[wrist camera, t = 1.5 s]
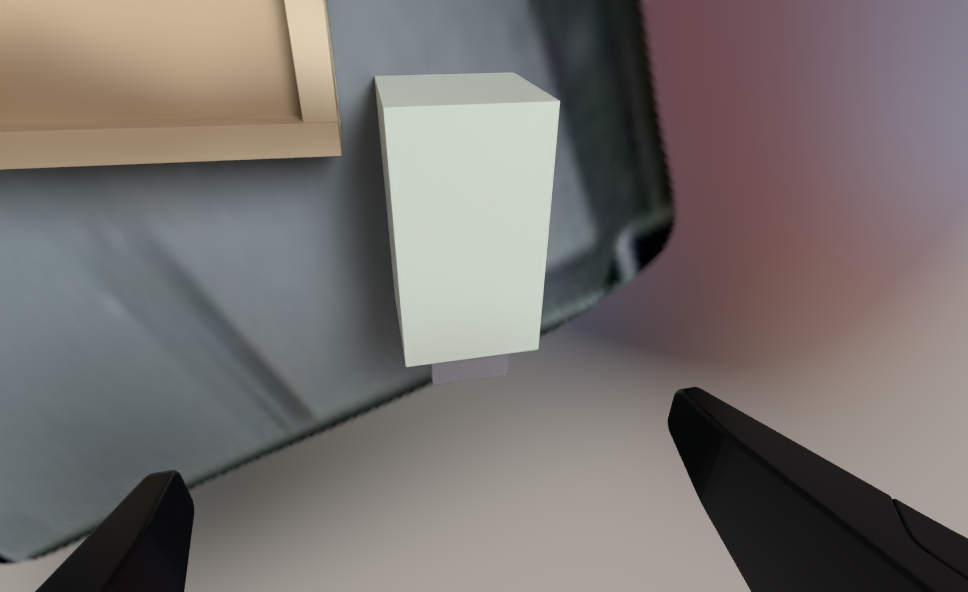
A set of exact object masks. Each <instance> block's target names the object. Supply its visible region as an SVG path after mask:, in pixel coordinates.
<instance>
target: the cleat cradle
mask: <svg viewBox="0 0 968 592" xmlns="http://www.w3.org/2000/svg"><path fill="white" fill-rule="evenodd" d="M324 156H342V127H341V119H340V110H339V101H338V93H337V84H336V76H335V67H334V59H333V50H332V42H331V33H330V24H329V16H328V7H327V0H0V169H24V168H49V167H74V166H99V165H124V164H149V163H174V162H199V161H224V160H249V159H274V158H299V157H324Z"/></svg>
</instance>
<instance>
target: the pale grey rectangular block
mask: <svg viewBox="0 0 968 592" xmlns="http://www.w3.org/2000/svg"><path fill="white" fill-rule="evenodd" d="M374 77H375V88H376V99H377V110H378V121H379V131H380V142H381V153H382V164H383V174H384V185H385V196H386V207H387V218H388V228H389V239H390V250H391V261H392V272H393V282H394V293H395V301H396V307H397V314H398V320H399V327H400V333H401V340H402V346H403V352H404V359H405V365H406V367H411V366H419V365H426V364H429V369H430V374H431V378H432V383H433V385H440V384H447V383H454V382H461V381H468V380H475V379H482V378H489V377H495V376H503V375H508V360H509V353H515V352H523V351H530V350H538V346H539V335H540V323H541V312H542V300H543V289H544V278H545V266H546V255H547V244H548V232H549V221H550V209H551V198H552V187H553V175H554V164H555V152H556V141H557V130H558V118H559V107H560V101H559V100H557V99H556V98H554V97H553V96H551V95H549V94H548V93H546V92H544V91H543V90H541V89H540V88H538V87H536V86H535V85H533V84H532V83H530V82H528V81H527V80H525V79H523V78H522V77H520V76H519V75H517V74H515V73H481V74H440V75H398V76H374Z"/></svg>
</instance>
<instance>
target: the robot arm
mask: <svg viewBox="0 0 968 592" xmlns="http://www.w3.org/2000/svg"><path fill="white" fill-rule="evenodd" d="M668 427H669V431H670V434H671V436H672V438H673V441H674V443H675V445H676V447H677V450H678V452H679V454H680V456H681V459H682V461H683V463H684V466H685V468H686V470H687V472H688V475H689V477H690V479H691V482H692V484H693V486H694V488H695V490H696V493H697V495H698V497H699V499H700V501H701V503H702V505H703V507H704V509H705V510H706V512H707V514H708V516H709V518H710V519H711V521H712V523H713V525H714V526H715V528H716V530H717V532H718V534H719V535H720V537H721V539H722V541H723V542H724V544H725V546H726V548H727V550H728V551H729V553H730V555H731V557H732V558H733V560H734V562H735V563H736V566H737V567H738V569H739V571H740V573H741V574H742V576H743V578H744V580H745V581H746V583H747V585H748V587H749V588H750V590H751V592H968V538H966V537H964V536H962V535H960V534H958V533H956V532H954V531H952V530H951V529H949V528H947V527H945V526H943V525H942V524H940V523H938V522H936V521H934V520H932V519H930V518H929V517H927V516H925V515H923V514H921V513H920V512H918V511H916V510H914V509H913V508H911V507H909V506H907V505H906V504H904V503H902V502H900V501H898V500H897V499H892V498H891V497H890V496H889V495H888V494H886V493H884V492H882V491H880V490H879V489H877V488H875V487H874V486H872V485H870V484H868V483H866V482H865V481H863V480H861V479H859V478H858V477H856V476H854V475H852V474H851V473H849V472H847V471H845V470H844V469H842V468H840V467H838V466H837V465H835V464H833V463H831V462H829V461H828V460H826V459H824V458H822V457H821V456H819V455H817V454H815V453H814V452H811V451H810V450H808V449H807V448H805V447H803V446H801V445H799V444H798V443H796V442H794V441H792V440H791V439H789V438H787V437H785V436H784V435H782V434H780V433H778V432H776V431H775V430H773V429H771V428H769V427H768V426H766V425H764V424H762V423H761V422H759V421H757V420H755V419H754V418H752V417H750V416H748V415H746V414H744V413H743V412H741V411H739V410H738V409H736V408H734V407H732V406H731V405H729V404H727V403H725V402H723V401H722V400H720V399H718V398H717V397H715V396H713V395H711V394H709V393H708V392H706V391H704V390H702V389H700V388H698V387H691V388H686V389H680V390H678V391H677V392H676V393H675V395H674V398H673V402H672V406H671V409H670V413H669V417H668ZM193 519H194V504H193V500H192V498H191V496H190V493H189V491H188V489H187V487H186V485H185V483H184V481H183V479H182V477H181V475H180V473H179V472H178V471H176V470H170V471H163V472H157V473H152V474H149V475H148V476H146V477H145V478H144V479H143V480H142V481H141V482H140V483H139V484H138V485H137V486H136V487H135V488H134V489H133V490H132V491H131V493H130V494H129V495H128V496H127V497H126V498H125V499H124V500H123V501H122V502H121V503H120V504H119V505H118V506H117V507H116V508H115V509H114V510H113V511H112V512H111V513H110V514H109V515H108V516H107V517H106V519H105V520H104V521H103V522H102V523H101V524H100V525H99V526H98V527H97V528H96V529H95V530H94V531H93V532H92V533H91V534H90V535H89V536H88V537H87V538H86V539H85V540H84V541H83V542H82V543H81V545H80V546H79V547H78V548H77V549H76V550H75V551H74V552H73V553H72V554H71V555H70V556H69V557H68V558H67V559H66V560H65V561H64V562H63V563H62V564H61V565H60V566H59V567H58V568H57V569H56V571H55V572H54V573H53V574H52V575H51V576H50V577H49V578H48V579H47V580H46V581H45V582H44V583H43V584H42V585H41V586H40V587H39V588H38V589H37V590H36V591H35V592H184V588H185V581H186V573H187V565H188V557H189V550H190V542H191V534H192V526H193Z"/></svg>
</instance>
